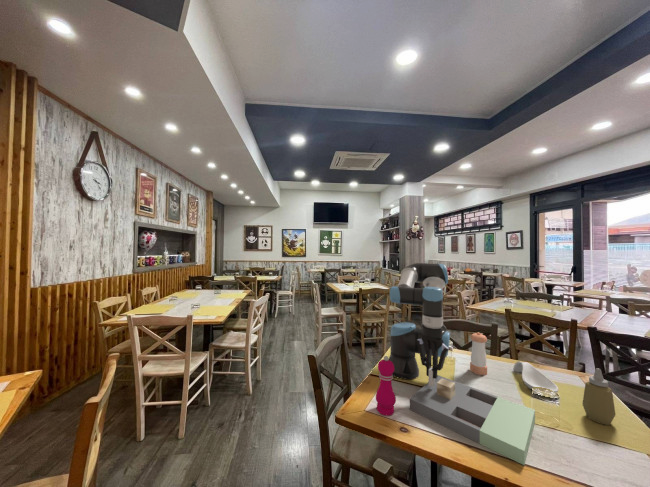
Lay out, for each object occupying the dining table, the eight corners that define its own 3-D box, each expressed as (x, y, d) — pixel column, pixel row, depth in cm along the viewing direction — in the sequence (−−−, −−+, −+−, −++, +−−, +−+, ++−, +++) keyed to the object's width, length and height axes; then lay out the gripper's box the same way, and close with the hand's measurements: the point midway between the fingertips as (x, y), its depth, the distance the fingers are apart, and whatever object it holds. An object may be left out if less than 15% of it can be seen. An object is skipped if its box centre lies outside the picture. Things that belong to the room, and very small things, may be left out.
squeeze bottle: (577, 415, 93) (577, 366, 93) (588, 410, 96) (588, 362, 96) (609, 430, 85) (609, 376, 86) (620, 423, 88) (619, 372, 89)
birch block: (436, 394, 98) (437, 382, 98) (441, 389, 101) (441, 378, 102) (450, 399, 94) (450, 387, 94) (455, 394, 98) (455, 382, 98)
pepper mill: (382, 401, 99) (383, 350, 99) (399, 410, 94) (399, 356, 94) (371, 410, 94) (372, 355, 94) (388, 419, 89) (389, 362, 89)
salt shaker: (467, 367, 129) (467, 329, 130) (482, 368, 128) (483, 330, 129) (473, 374, 122) (474, 334, 122) (490, 375, 121) (490, 335, 121)
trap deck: (409, 409, 95) (409, 398, 95) (436, 383, 113) (436, 374, 113) (524, 465, 71) (524, 451, 71) (535, 421, 89) (535, 409, 89)
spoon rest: (565, 401, 102) (565, 383, 102) (532, 397, 104) (532, 379, 104) (531, 373, 125) (531, 358, 125) (504, 370, 127) (504, 356, 128)
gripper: (412, 324, 104) (412, 382, 103) (445, 331, 95) (445, 395, 94) (420, 320, 109) (420, 376, 109) (452, 327, 100) (452, 388, 99)
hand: (431, 385), depth 101 cm, fingers closed
